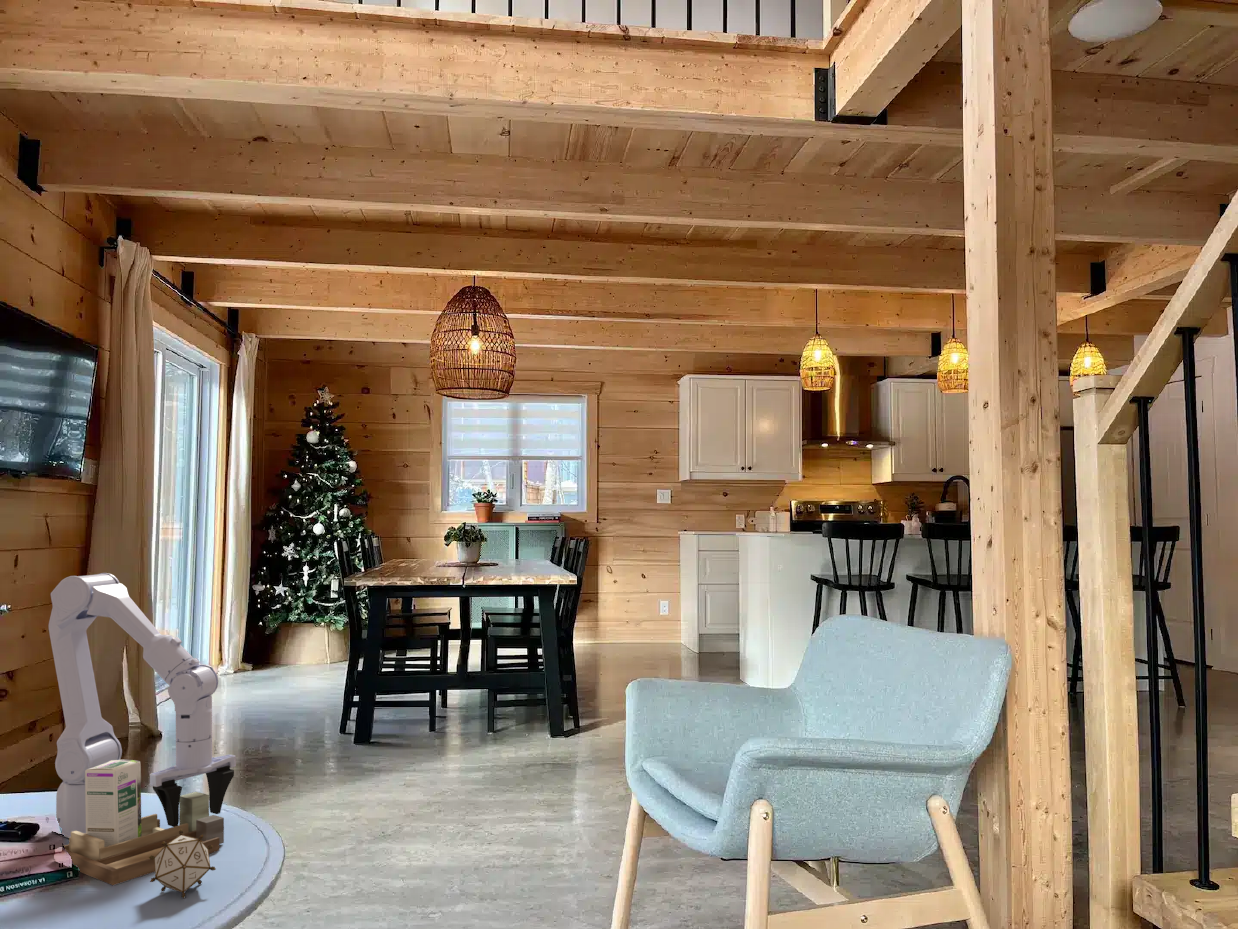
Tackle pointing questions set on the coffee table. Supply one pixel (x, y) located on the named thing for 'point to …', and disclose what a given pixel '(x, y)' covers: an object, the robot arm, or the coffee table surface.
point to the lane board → (128, 872)
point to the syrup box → (113, 801)
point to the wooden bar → (205, 827)
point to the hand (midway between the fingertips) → (194, 819)
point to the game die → (181, 863)
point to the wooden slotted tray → (144, 830)
